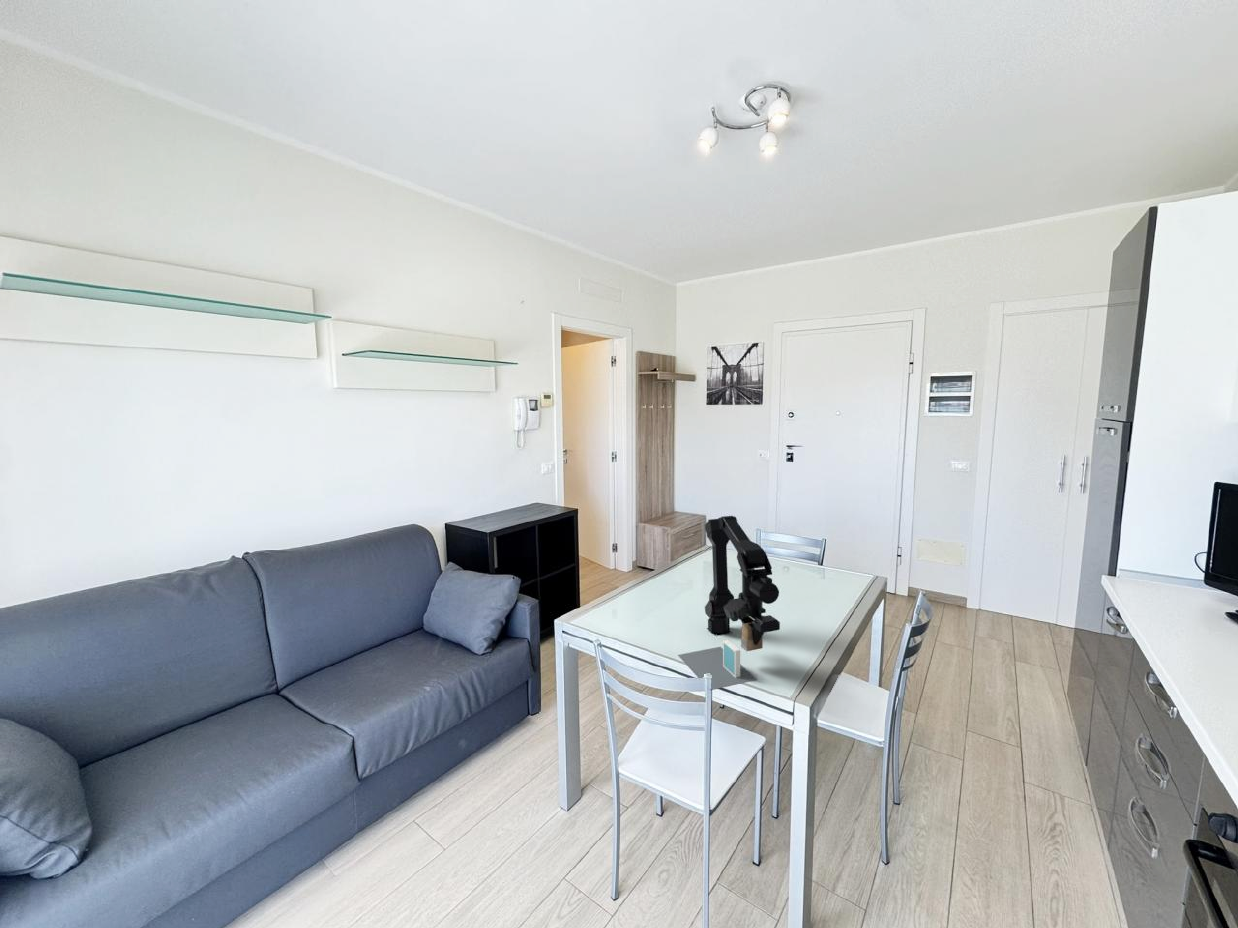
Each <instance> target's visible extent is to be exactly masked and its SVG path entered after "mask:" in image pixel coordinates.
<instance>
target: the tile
mask: <svg viewBox="0 0 1238 928" xmlns="http://www.w3.org/2000/svg"><path fill="white" fill-rule="evenodd" d="M722 648H723V666H724V667H725V668H726V669H727V670H728V671H729V672H730V673H731V674H732V675H733V676H734V677H735V678H737V677H740V664H741V649H740V648H738V647H737V645H735V644H734V643H732V642H731V641H730V640H729V639H723V640H722Z"/></svg>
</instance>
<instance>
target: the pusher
mask: <svg viewBox="0 0 1238 928" xmlns="http://www.w3.org/2000/svg"><path fill="white" fill-rule="evenodd" d="M751 623H753V622H750V623H744V624H742V623H741V637H740V648H741V649H743V650H744V651H746V652H751V651H756V650H761V649H763V646H764V645H763V639H764V638H763V637H764V636H763V635H764V634H763V635H762V637H761V639H760V641H759V643H758V644H757V645H754V643H753V635H752V628H751V627H750V626H749V625H748V624H751Z"/></svg>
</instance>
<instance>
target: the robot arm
mask: <svg viewBox="0 0 1238 928" xmlns="http://www.w3.org/2000/svg"><path fill="white" fill-rule="evenodd" d="M704 529H705V533H706V537H707V539H708V540H709V542H710V544H711V549H712V552H711V554H712V576H713V577H712V578H713V582H712V583H713V587H712V589H711V590H710V592H709V594H708V595H709V596H708V601H707V602H706V604H705V606H704V612H705V615H706V616H708V618H707V627H706V629H707V631H708V632H709V633H711V634H712V635H714V636H715V637H718V636H723V635H729V634H733V631H731V630H730V629H731V628H730V627H731V625H730V624H731V622H730V621H732V622H737V621H739V620H740V621H741V625H742V624H744V623H750V622H753V623H751V624H748V625H749V626H750V627H751V628H752V635H753V643H754V645H757V644H758V643H759V641H760V639H761V637H762V635H764V634H765V633H771V632H776V631H780V630H781V622H780V621H779V620H778V619H776V618H775V617H773V616H772V615H770V614H769V615H762V614H765V613H766V612H767V611H766V608H764V607H763V604H767V605H770V604H773V603H775V602H776V601H777V600H778V599H779V596H780V591H779V587H778V586H777V585H776V584H775V583H773V578H772V577H769V576H772V575H773V571H772V568H773V567H772V565H771V562H770V560H769V558H768V555H767V552H766V551H765V550H764V548H763V547H762V546H761V545H759V544H758V543H757V542H754V541H751V539H750V538H749V537H748V536H747V534H746V533H745V531H744V530H743V528H742V527H741V526H740V524H739V522H738V520H737V517H736V516H734V515H726V516H725V515H724V516H721V517H719V518H713V519H712V518H711V519H708V520H707V522H705V524H704ZM729 542H731V544H732V545H733V547H734V549H735V550H736V551H737V554H736V560H737V564H738V565H739V567H740V569H739V571H740V572H741V584H742V585H741V590H742V591H741V592H739V593H738V598H735V596H734V594H733V593H732V592H731V590H730V589H729V582H728V581H729V580H728V579H729V578H728V575H729V574H728V573H729V572H728V554H727V553H728V551H727V547H728V546H727V545H728V543H729Z"/></svg>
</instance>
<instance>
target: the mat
mask: <svg viewBox="0 0 1238 928" xmlns="http://www.w3.org/2000/svg"><path fill="white" fill-rule="evenodd" d="M677 656H678V657H679V659H681V660H682V662H683V663H684V664H685V665H686V666H687V667H688V669H690V671H692V673H693V674H694V675H695V676H696V677H697V678H698V679H699V678H703V677H704V674H706V673H710V674H711V675H712V690H711V691H713V690H718V689H722V688H727V687H731V686H735V685H741V684H744V683H750V682H753V681H758V678H756V677H755V676H754V675H753V674H752V673H751V672H750V671H749V670H748V669H746V667H744V666H743V665H742V664H741V663H740V677H737V678H735V677H734V676H733V675H732V674H731V673H730V672H729V671H728V670H727V669H726V668H725V667H724V666H723V647H722V646H717V647H712V648H706V649H701V650H696V651H691V652H686V653H682V654H677Z"/></svg>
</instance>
